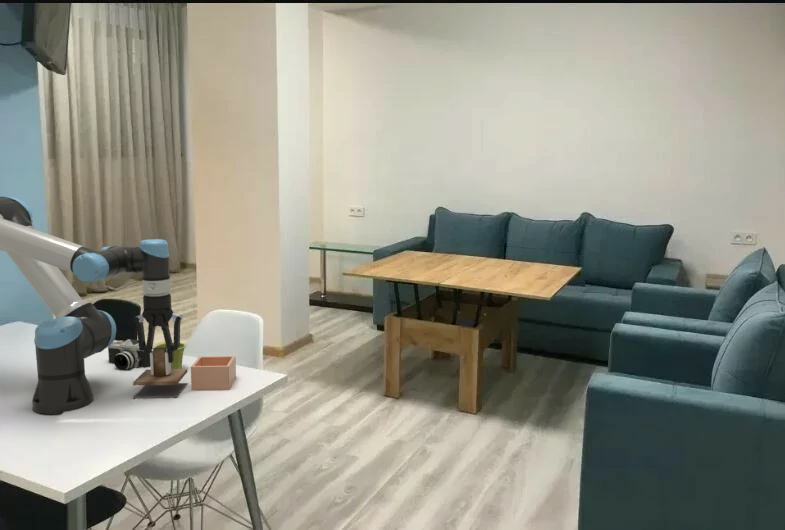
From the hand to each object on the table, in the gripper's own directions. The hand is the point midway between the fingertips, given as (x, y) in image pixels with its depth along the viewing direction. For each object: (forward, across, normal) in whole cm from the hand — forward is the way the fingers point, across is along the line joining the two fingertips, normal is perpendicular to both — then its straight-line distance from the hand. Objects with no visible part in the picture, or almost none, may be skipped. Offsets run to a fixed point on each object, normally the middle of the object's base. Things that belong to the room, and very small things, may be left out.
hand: (161, 373), depth 196 cm
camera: (+6, -18, +24) cm, 30 cm away
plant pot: (+5, -2, +18) cm, 19 cm away
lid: (+1, 0, 0) cm, 1 cm away
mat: (+5, 0, 0) cm, 5 cm away
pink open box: (+5, +14, +6) cm, 16 cm away
